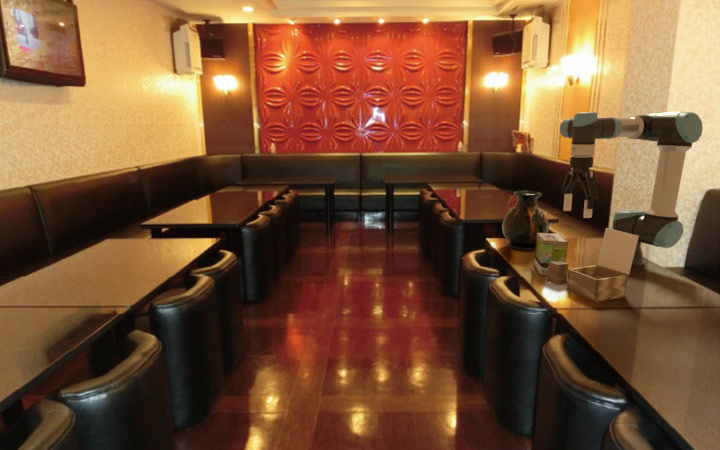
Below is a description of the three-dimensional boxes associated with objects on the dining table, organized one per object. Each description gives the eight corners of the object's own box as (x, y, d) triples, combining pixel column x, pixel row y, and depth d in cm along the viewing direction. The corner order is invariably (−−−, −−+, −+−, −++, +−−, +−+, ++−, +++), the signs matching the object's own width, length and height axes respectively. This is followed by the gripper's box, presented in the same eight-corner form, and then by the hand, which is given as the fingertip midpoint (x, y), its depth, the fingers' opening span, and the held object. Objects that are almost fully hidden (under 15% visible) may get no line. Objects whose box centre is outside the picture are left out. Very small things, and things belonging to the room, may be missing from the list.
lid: (597, 264, 172) (598, 264, 172) (627, 274, 160) (629, 274, 160) (605, 228, 170) (607, 228, 170) (637, 235, 158) (638, 235, 158)
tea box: (565, 276, 184) (569, 241, 181) (539, 275, 186) (542, 240, 183) (557, 265, 198) (560, 232, 195) (533, 264, 200) (536, 231, 197)
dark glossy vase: (541, 256, 213) (546, 197, 207) (495, 249, 224) (498, 193, 218) (550, 246, 230) (555, 191, 224) (507, 240, 242) (511, 188, 236)
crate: (595, 285, 174) (597, 265, 172) (625, 296, 162) (627, 275, 160) (566, 289, 169) (568, 269, 167) (595, 302, 157) (597, 280, 155)
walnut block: (557, 279, 181) (558, 260, 179) (566, 283, 176) (568, 263, 174) (547, 281, 179) (548, 261, 177) (556, 285, 174) (558, 265, 173)
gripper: (554, 154, 176) (550, 208, 180) (592, 159, 152) (586, 221, 156) (573, 153, 176) (568, 207, 181) (613, 158, 152) (607, 220, 157)
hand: (576, 214), depth 169 cm, fingers open, 13 cm apart
